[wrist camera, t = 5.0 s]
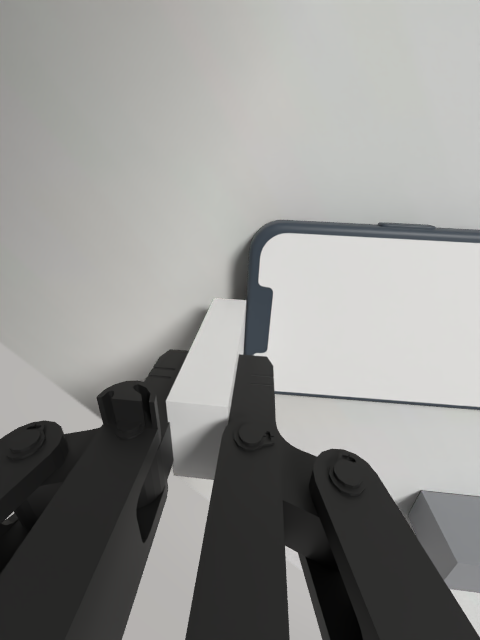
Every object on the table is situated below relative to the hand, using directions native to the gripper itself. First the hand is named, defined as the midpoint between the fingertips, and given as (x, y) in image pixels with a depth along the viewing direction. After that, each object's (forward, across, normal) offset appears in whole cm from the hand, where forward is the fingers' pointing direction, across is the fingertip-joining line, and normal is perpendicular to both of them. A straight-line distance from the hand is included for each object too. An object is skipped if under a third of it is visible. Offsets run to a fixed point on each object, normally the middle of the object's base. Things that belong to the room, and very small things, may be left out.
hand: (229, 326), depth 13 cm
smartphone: (+2, +9, 0) cm, 9 cm away
